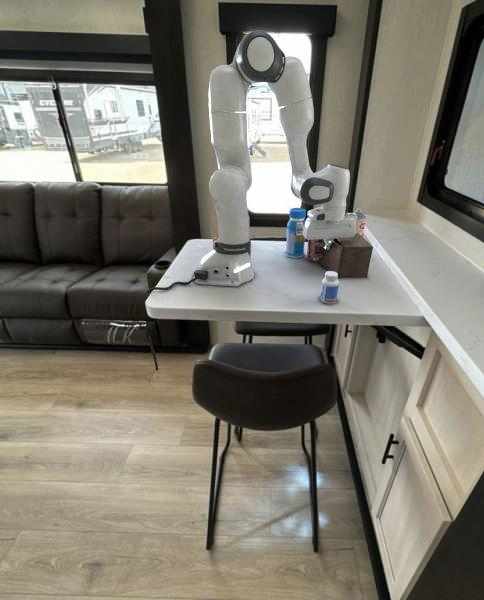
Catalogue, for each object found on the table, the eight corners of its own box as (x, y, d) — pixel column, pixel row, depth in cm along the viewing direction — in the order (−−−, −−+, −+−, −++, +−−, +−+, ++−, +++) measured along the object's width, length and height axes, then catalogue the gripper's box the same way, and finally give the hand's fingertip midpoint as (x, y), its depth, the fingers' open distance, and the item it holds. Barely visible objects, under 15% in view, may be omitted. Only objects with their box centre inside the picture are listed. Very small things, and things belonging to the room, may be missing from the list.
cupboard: (339, 278, 116) (344, 246, 110) (328, 261, 130) (332, 233, 124) (366, 277, 118) (373, 246, 111) (353, 261, 131) (358, 233, 125)
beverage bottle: (282, 256, 134) (284, 210, 123) (288, 250, 140) (291, 206, 130) (300, 259, 131) (304, 213, 121) (306, 253, 138) (310, 208, 128)
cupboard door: (327, 279, 115) (331, 248, 109) (309, 263, 128) (312, 234, 122) (338, 277, 116) (343, 247, 110) (320, 262, 129) (323, 233, 123)
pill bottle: (339, 300, 102) (343, 274, 97) (329, 306, 98) (333, 279, 94) (326, 294, 105) (329, 268, 100) (316, 299, 102) (319, 273, 97)
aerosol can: (356, 256, 136) (364, 211, 126) (342, 253, 139) (349, 209, 129) (361, 252, 141) (369, 208, 131) (347, 249, 144) (354, 206, 134)
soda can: (323, 262, 129) (326, 235, 123) (307, 262, 129) (309, 235, 123) (321, 256, 135) (324, 230, 129) (305, 256, 135) (308, 229, 128)
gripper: (354, 210, 116) (347, 245, 122) (303, 211, 111) (300, 247, 118) (362, 214, 110) (355, 250, 117) (309, 216, 105) (305, 253, 112)
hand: (327, 249), depth 117 cm, fingers closed
